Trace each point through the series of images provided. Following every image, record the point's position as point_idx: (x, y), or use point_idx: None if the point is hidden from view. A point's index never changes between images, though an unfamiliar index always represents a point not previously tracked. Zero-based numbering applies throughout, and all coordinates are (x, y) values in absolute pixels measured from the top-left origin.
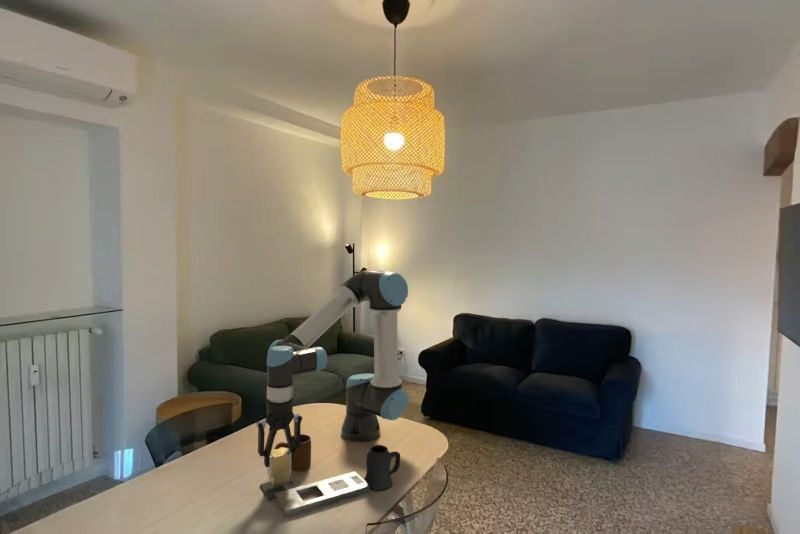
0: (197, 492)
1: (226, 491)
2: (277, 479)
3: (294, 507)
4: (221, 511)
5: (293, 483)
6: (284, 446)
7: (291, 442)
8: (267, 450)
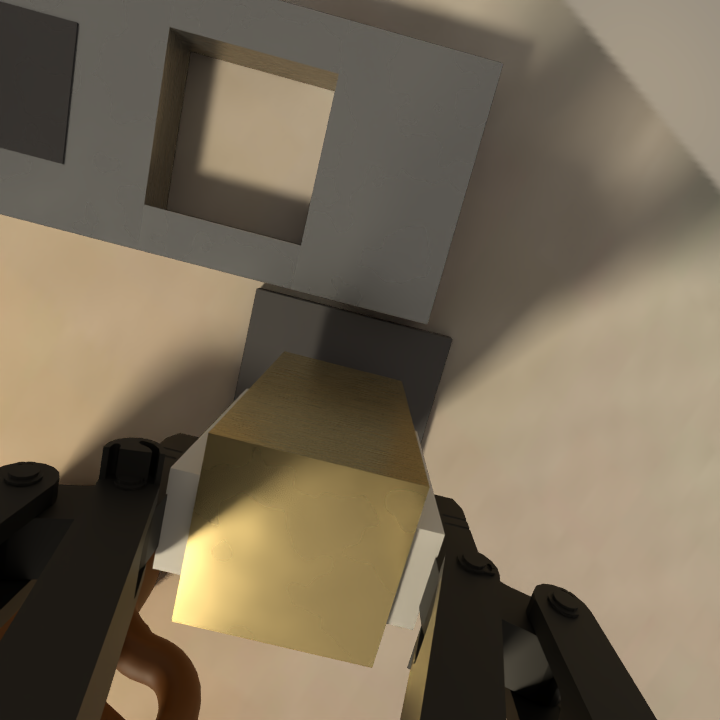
0: (670, 673)
1: (562, 585)
2: (375, 387)
3: (431, 55)
4: (699, 429)
5: (238, 384)
6: (107, 714)
7: (86, 556)
8: (499, 619)
